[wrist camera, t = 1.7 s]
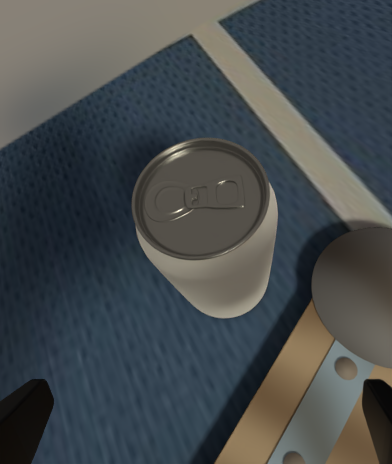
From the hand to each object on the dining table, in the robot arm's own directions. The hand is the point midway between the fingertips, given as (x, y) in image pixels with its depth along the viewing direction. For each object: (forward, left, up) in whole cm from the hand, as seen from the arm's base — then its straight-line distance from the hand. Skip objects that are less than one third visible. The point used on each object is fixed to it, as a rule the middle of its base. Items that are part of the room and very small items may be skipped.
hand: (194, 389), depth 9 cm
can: (+6, +4, -13) cm, 15 cm away
